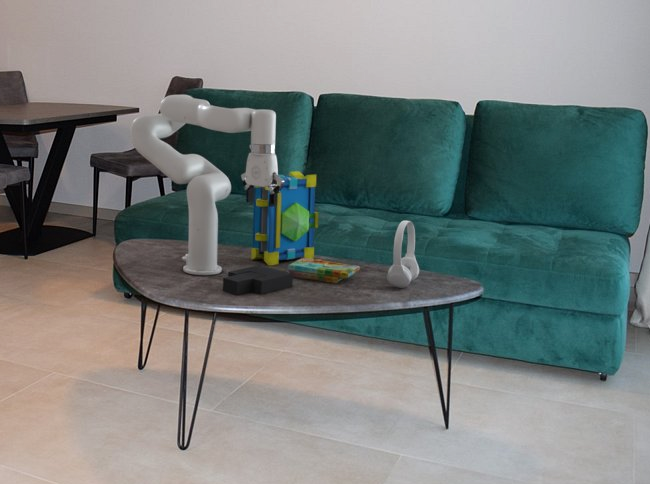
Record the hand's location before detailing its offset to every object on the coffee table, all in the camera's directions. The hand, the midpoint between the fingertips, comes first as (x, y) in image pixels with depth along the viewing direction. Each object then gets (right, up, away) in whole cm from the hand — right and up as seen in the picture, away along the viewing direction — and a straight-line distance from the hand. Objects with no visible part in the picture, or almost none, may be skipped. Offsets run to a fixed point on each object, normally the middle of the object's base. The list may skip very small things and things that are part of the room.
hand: (261, 204), depth 255 cm
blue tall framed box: (+10, -22, +31) cm, 39 cm away
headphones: (+44, -25, 0) cm, 51 cm away
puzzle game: (+20, -24, +7) cm, 33 cm away
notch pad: (-1, -25, -4) cm, 25 cm away
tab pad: (-6, -25, -9) cm, 27 cm away
